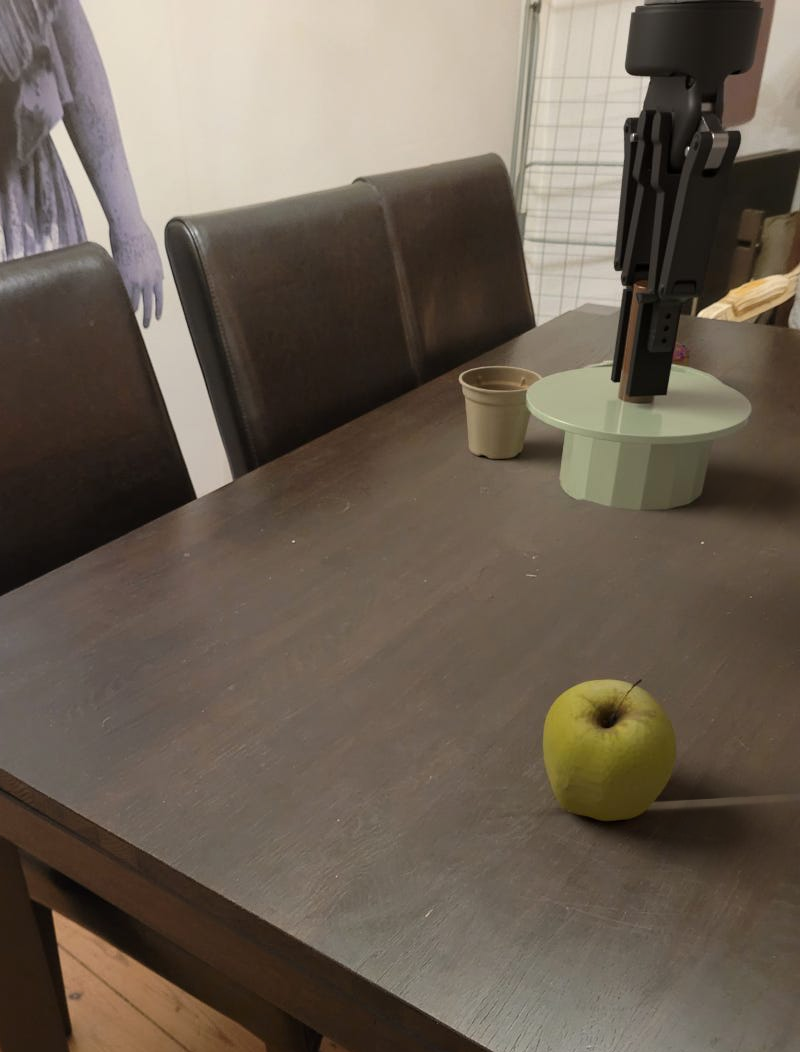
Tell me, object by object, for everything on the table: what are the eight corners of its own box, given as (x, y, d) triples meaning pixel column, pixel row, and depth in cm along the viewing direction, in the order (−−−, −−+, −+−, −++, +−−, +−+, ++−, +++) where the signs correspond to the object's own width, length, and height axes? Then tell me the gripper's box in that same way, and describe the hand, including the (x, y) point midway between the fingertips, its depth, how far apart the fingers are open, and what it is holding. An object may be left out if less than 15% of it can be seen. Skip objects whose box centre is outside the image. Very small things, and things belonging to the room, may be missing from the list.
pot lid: (695, 377, 78) (718, 257, 73) (789, 447, 64) (824, 306, 59) (503, 385, 77) (512, 265, 72) (557, 458, 64) (573, 316, 59)
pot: (661, 450, 112) (679, 351, 106) (735, 522, 95) (761, 410, 89) (538, 455, 111) (549, 356, 105) (590, 529, 94) (607, 416, 88)
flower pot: (491, 471, 107) (498, 396, 103) (438, 447, 114) (442, 375, 109) (552, 453, 112) (561, 380, 107) (497, 431, 118) (503, 361, 114)
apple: (590, 725, 66) (644, 627, 59) (666, 817, 61) (735, 724, 54) (497, 761, 63) (542, 663, 55) (570, 861, 58) (629, 769, 51)
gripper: (595, 4, 63) (557, 359, 76) (688, -5, 50) (623, 426, 63) (706, 1, 64) (649, 354, 76) (827, -9, 51) (734, 421, 63)
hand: (637, 386), depth 70 cm, fingers closed on pot lid, 3 cm apart
